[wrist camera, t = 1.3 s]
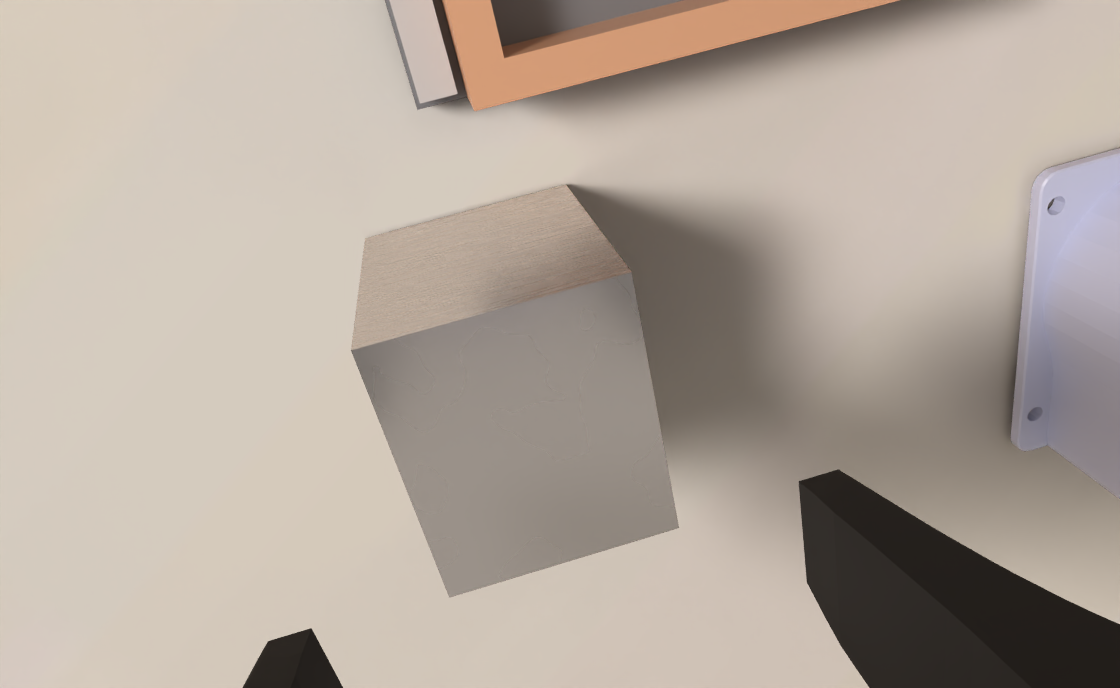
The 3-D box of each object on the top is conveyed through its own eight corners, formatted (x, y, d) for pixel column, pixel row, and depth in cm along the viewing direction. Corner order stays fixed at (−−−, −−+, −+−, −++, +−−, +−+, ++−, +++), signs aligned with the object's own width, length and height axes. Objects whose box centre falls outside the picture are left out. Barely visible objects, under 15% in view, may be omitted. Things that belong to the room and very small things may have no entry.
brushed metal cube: (609, 388, 21) (678, 528, 16) (437, 438, 21) (449, 597, 16) (565, 184, 19) (631, 272, 13) (365, 238, 18) (351, 350, 13)
